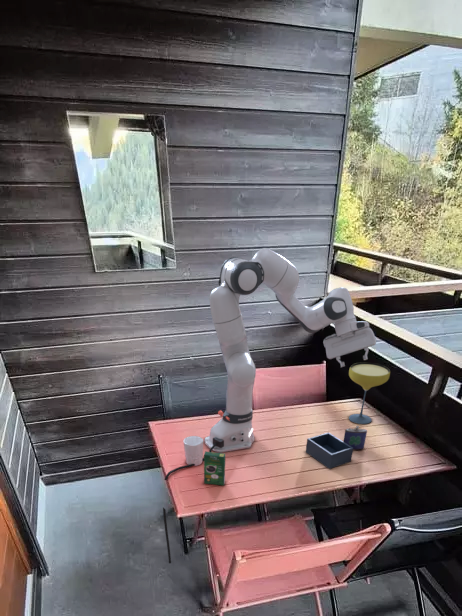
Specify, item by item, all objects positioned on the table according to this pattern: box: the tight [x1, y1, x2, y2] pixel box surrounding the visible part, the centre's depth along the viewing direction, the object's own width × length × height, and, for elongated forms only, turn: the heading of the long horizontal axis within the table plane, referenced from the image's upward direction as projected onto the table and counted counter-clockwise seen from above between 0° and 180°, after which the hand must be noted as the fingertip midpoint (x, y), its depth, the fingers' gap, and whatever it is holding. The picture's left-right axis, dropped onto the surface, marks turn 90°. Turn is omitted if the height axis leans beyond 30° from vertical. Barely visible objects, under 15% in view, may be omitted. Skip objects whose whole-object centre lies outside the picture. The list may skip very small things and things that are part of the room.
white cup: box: [182, 435, 204, 467], centre depth 179 cm, size 8×8×10 cm
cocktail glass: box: [348, 362, 391, 425], centre depth 208 cm, size 18×18×25 cm
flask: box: [342, 425, 368, 451], centre depth 189 cm, size 9×3×11 cm, turn 87°
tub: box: [305, 432, 354, 470], centre depth 184 cm, size 12×16×6 cm
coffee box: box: [203, 451, 226, 487], centre depth 166 cm, size 8×3×13 cm, turn 80°
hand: (354, 363), depth 184 cm, fingers open, 8 cm apart
